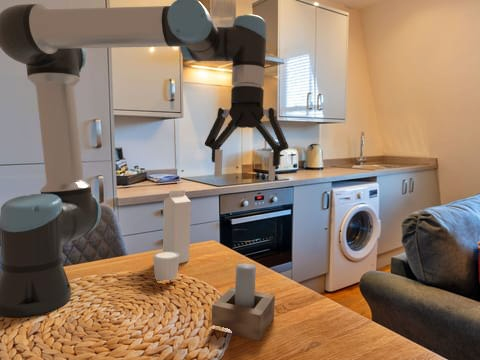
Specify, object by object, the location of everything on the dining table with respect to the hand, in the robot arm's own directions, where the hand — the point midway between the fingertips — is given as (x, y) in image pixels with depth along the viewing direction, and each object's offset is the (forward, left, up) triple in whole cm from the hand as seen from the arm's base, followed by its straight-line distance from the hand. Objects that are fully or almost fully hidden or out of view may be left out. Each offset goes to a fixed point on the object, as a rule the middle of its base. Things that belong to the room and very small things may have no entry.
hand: (244, 178), depth 85 cm
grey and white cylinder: (-21, 0, -29) cm, 36 cm away
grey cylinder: (+6, -13, -29) cm, 32 cm away
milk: (-27, +15, -29) cm, 42 cm away
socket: (+6, -13, -29) cm, 32 cm away
